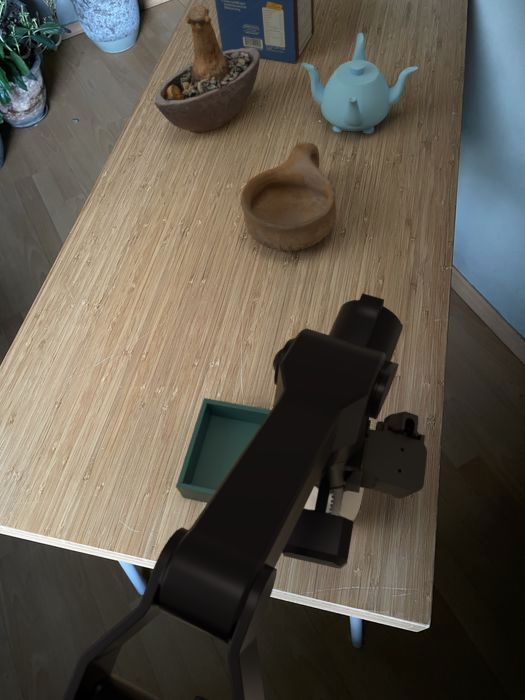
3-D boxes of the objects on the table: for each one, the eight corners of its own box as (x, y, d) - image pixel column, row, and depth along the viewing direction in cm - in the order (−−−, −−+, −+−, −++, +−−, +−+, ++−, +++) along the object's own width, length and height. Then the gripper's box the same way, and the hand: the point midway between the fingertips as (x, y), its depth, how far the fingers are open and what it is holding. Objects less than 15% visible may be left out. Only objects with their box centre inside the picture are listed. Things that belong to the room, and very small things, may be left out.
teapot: (301, 116, 102) (299, 62, 93) (361, 84, 105) (364, 28, 96) (349, 155, 96) (351, 101, 87) (411, 120, 99) (419, 64, 90)
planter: (163, 149, 100) (131, 35, 83) (186, 87, 109) (162, -29, 92) (248, 154, 98) (233, 37, 81) (265, 90, 106) (255, -28, 89)
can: (312, 537, 65) (310, 505, 55) (296, 482, 69) (292, 443, 58) (368, 522, 66) (377, 488, 55) (349, 468, 69) (355, 426, 59)
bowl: (242, 170, 94) (253, 119, 85) (327, 189, 96) (346, 140, 87) (229, 257, 85) (240, 208, 76) (323, 276, 87) (344, 230, 78)
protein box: (241, 21, 118) (232, -65, 105) (314, 32, 114) (314, -56, 101) (220, 52, 113) (207, -35, 100) (296, 64, 109) (292, -24, 96)
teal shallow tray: (276, 517, 67) (274, 507, 63) (182, 497, 69) (175, 486, 65) (296, 427, 72) (295, 414, 69) (209, 411, 74) (203, 397, 71)
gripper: (415, 564, 44) (394, 596, 58) (438, 352, 53) (415, 422, 66) (271, 532, 46) (282, 570, 60) (315, 334, 55) (317, 405, 69)
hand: (329, 487), depth 64 cm, fingers open, 8 cm apart
